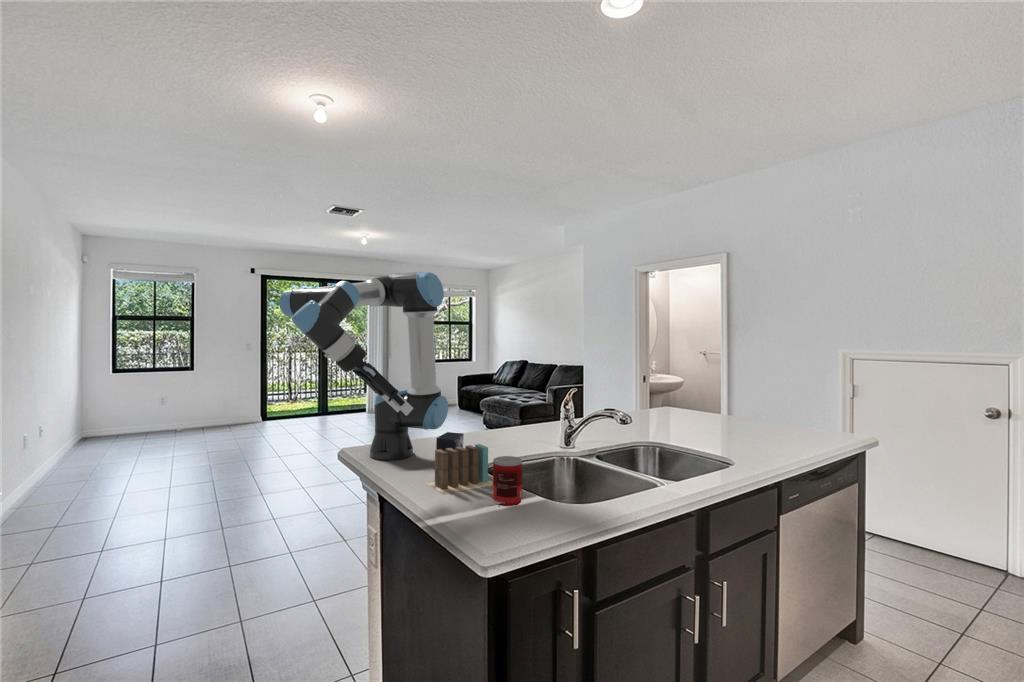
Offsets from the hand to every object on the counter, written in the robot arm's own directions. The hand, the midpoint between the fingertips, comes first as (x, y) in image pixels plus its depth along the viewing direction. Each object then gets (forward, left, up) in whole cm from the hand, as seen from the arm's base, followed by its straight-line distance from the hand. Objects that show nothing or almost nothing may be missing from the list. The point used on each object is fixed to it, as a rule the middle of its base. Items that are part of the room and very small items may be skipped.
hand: (405, 410), depth 137 cm
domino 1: (+6, +8, -21) cm, 24 cm away
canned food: (+23, +19, -23) cm, 38 cm away
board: (+6, +15, -22) cm, 28 cm away
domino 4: (+6, +18, -21) cm, 29 cm away
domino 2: (+6, +12, -21) cm, 25 cm away
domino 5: (+6, +21, -21) cm, 31 cm away
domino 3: (+6, +15, -21) cm, 27 cm away
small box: (-15, +21, -23) cm, 35 cm away
